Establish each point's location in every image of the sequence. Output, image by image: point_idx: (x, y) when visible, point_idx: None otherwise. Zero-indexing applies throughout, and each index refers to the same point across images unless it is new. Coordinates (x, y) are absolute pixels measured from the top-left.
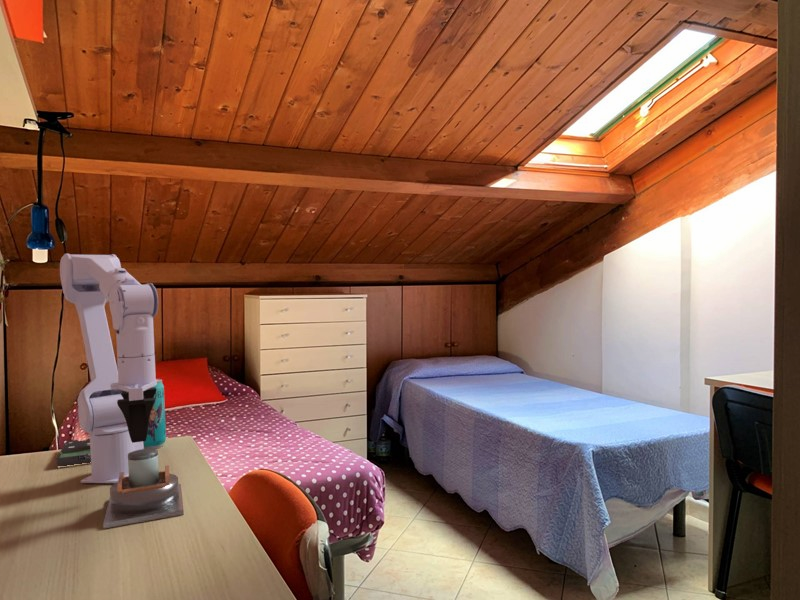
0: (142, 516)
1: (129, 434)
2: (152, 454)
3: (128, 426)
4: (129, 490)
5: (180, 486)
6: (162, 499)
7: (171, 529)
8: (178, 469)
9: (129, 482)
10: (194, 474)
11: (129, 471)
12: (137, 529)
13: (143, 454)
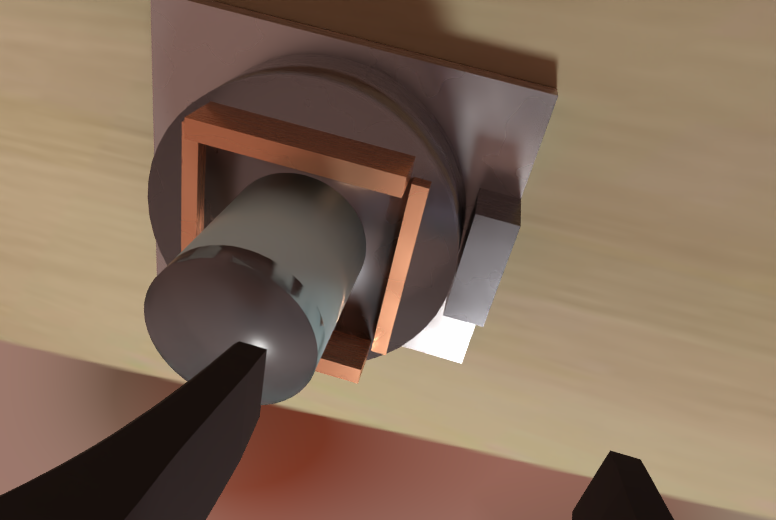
0: (155, 146)
1: (198, 373)
2: (167, 358)
3: (135, 422)
4: (185, 154)
5: (423, 350)
6: None
7: (54, 195)
8: (752, 431)
9: (274, 181)
10: (605, 440)
11: (241, 209)
12: (100, 104)
13: (177, 325)
